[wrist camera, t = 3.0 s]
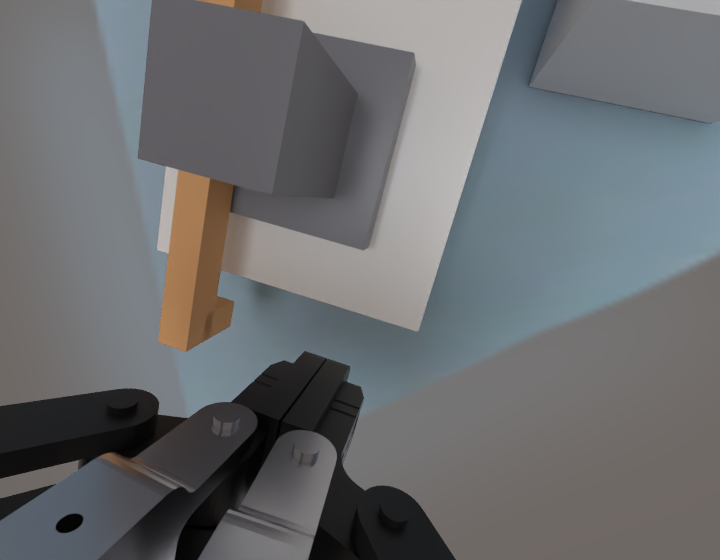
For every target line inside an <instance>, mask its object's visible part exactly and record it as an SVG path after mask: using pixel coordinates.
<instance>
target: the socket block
mask: <svg viewBox="0 0 720 560" xmlns="http://www.w3.org/2000/svg"><path fill="white" fill-rule="evenodd" d="M521 2H522V0H263V2H262V9H261V13H265V14H270V15H275V16H280V17H285V18H290V19H295V20H301V21H304V22H305V23H306V25H307V26H308V27H309V29H310V30H311V31H312V32H313V33H318V34H323V35H328V36H333V37H338V38H343V39H348V40H353V41H358V42H363V43H368V44H373V45H378V46H383V47H388V48H393V49H398V50H403V51H408V52H413V53H414V54H415V60H416V67H415V71H414V75H413V79H412V83H411V86H410V90H409V94H408V98H407V102H406V106H405V110H404V113H403V117H402V121H401V125H400V129H399V133H398V137H397V140H396V144H395V148H394V152H393V156H392V160H391V164H390V167H389V171H388V175H387V179H386V183H385V187H384V191H383V194H382V198H381V202H380V206H379V210H378V214H377V218H376V221H375V225H374V229H373V233H372V237H371V241H370V245H369V248H367V249H365V250H360V249H357V248H353V247H350V246H346V245H343V244H339V243H336V242H332V241H329V240H325V239H322V238H318V237H315V236H311V235H308V234H304V233H301V232H297V231H294V230H290V229H287V228H284V227H280V226H277V225H273V224H270V223H266V222H263V221H259V220H256V219H252V218H249V217H245V216H242V215H238V214H235V213H231V212H230V213H229V220H228V226H227V233H226V239H225V245H224V252H223V258H222V265H221V270H222V271H226V272H229V273H232V274H235V275H238V276H242V277H245V278H248V279H251V280H254V281H257V282H261V283H264V284H267V285H270V286H273V287H277V288H280V289H283V290H286V291H289V292H292V293H296V294H299V295H302V296H305V297H308V298H312V299H315V300H318V301H321V302H324V303H327V304H331V305H334V306H337V307H340V308H343V309H346V310H350V311H353V312H356V313H359V314H362V315H366V316H369V317H372V318H375V319H378V320H381V321H385V322H388V323H391V324H394V325H397V326H401V327H404V328H407V329H410V330H413V331H416V332H418V331H419V328H420V325H421V321H422V318H423V315H424V312H425V309H426V305H427V302H428V299H429V296H430V293H431V289H432V286H433V283H434V280H435V277H436V273H437V270H438V267H439V264H440V261H441V257H442V254H443V251H444V248H445V245H446V242H447V238H448V235H449V232H450V229H451V226H452V222H453V219H454V216H455V213H456V210H457V206H458V203H459V200H460V197H461V194H462V190H463V187H464V184H465V181H466V178H467V174H468V171H469V168H470V165H471V162H472V158H473V155H474V152H475V149H476V146H477V142H478V139H479V136H480V133H481V130H482V126H483V123H484V120H485V117H486V114H487V110H488V107H489V104H490V101H491V98H492V94H493V91H494V88H495V85H496V82H497V78H498V75H499V72H500V69H501V66H502V63H503V59H504V56H505V53H506V50H507V47H508V43H509V40H510V37H511V34H512V31H513V27H514V24H515V21H516V18H517V15H518V11H519V8H520V5H521ZM177 177H178V169H174V168H171V167H167V166H166V171H165V181H164V190H163V199H162V208H161V217H160V227H159V236H158V245H157V250H159V251H162V252H165V253H169V245H170V236H171V228H172V219H173V211H174V202H175V194H176V185H177Z"/></svg>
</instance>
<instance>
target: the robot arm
mask: <svg viewBox="0 0 720 560" xmlns="http://www.w3.org/2000/svg"><path fill="white" fill-rule="evenodd" d="M349 371H350V366H348V365H345V364H342V363H339V362H336V361H333V360H330V359H328V360H327V358H324V357H321V356H318V355H315V354H312V353H309V352H306V351H305V352H303V354H302V355H301V356H300V357H299V358H298V359H297V360H296V361H295V362H294V363H290V362H287V361H281V362H278V363H275V364H273V365H270V366H269V367H268V368H267V369H266V370H265V371H264V372H263V373H262V375H260V376H259V377H257V378H256V379H255V381H254V382H252V383H251V384H250V385H249V386H248V387H247V388H246V389H245V390H244V391H242V392H241V393H240V394H239V395H238V396H237V397H236V398H235V399H234V400H233V401H232V402H220V403H214V404H211V405H208V406H205V407H204V408H202V409H200V410H199V411H198V412H196V413H195V414H193V415H192V416H191V417H189V418H180V417H172V416H165V415H158V409H159V401H158V399H157V398H156V397H155V396H154V395H153V394H151V393H149V392H147V391H144V390H139V389H116V390H109V391H103V392H95V393H89V394H82V395H75V396H68V397H62V398H54V399H47V400H40V401H33V402H26V403H20V404H12V405H6V406H0V478H5V477H9V476H13V475H17V474H21V473H26V472H30V471H34V470H38V469H42V468H47V467H51V466H55V465H59V464H63V463H68V462H72V461H76V460H79V463H78V470H77V471H76V472H74V473H73V474H71V475H70V476H68V477H67V478H65V479H63V480H62V481H61V482H59V483H57V484H54V485H50V486H47V487H43V488H39V489H36V490H31V491H28V492H24V493H20V494H16V495H12V496H9V497H5V498H0V560H456V559H455V558H454V556H453V555H452V553H451V552H450V550H449V549H448V547H447V546H446V544H445V543H444V541H443V540H442V538H441V537H440V535H439V534H438V532H437V531H436V529H435V528H434V526H433V525H432V523H431V522H430V520H429V518H428V517H427V516H426V514H425V512H424V511H423V509H422V508H421V507H420V506H419V504H418V503H417V502H416V501H415V500H414V499H413V498H412V497H411V496H409V495H408V494H406V493H405V492H403V491H401V490H399V489H397V488H393V487H390V486H375V487H372V488H369V489H367V490H366V491H365V490H363V489H362V488H360V487H359V486H358V485H357V484H355V483H354V482H353V481H352V480H351V479H350V478H349V476H348V475H347V474H346V472H345V470H344V468H343V465H342V464H343V462H344V459H345V457H346V454H347V451H348V448H349V446H350V443H351V440H352V437H353V434H354V430H355V427H356V423H357V420H358V416H359V413H360V409H361V406H362V402H363V399H364V397H363V393H362V390H361V387H359V386H356V385H354V384H351V383H348V382H347V379H348V375H349Z"/></svg>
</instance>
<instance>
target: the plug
mask: <svg viewBox="0 0 720 560" xmlns="http://www.w3.org/2000/svg"><path fill="white" fill-rule="evenodd" d="M415 67H416V60H415V54H414V53H413V52H408V51H403V50H398V49H393V48H388V47H383V46H378V45H373V44H368V43H363V42H358V41H353V40H348V39H343V38H338V37H333V36H328V35H323V34H318V33H313V32H312V31H311V30H310V29H309V27H308V26H307V25H306V23H305V22H304V21H301V20H295V19H290V18H285V17H280V16H275V15H270V14H265V13H259V12H254V11H249V10H244V9H239V8H234V7H229V6H223V5H218V4H213V3H208V2H203V1H198V0H152V6H151V17H150V29H149V40H148V51H147V62H146V73H145V84H144V95H143V106H142V117H141V129H140V140H139V151H138V159H141V160H145V161H149V162H152V163H156V164H160V165H163V166H167V167H171V168H174V169H178V170H181V171H185V172H189V173H192V174H196V175H200V176H203V177H207V178H211V179H214V180H218V181H222V182H225V183H229V184H233V185H234V188H233V194H232V201H231V207H230V212H231V213H235V214H238V215H242V216H245V217H249V218H252V219H256V220H259V221H263V222H266V223H270V224H273V225H277V226H280V227H284V228H287V229H290V230H294V231H297V232H301V233H304V234H308V235H311V236H315V237H318V238H322V239H325V240H329V241H332V242H336V243H339V244H343V245H346V246H350V247H353V248H357V249H360V250H365V249H367V248H369V245H370V241H371V237H372V233H373V229H374V225H375V221H376V218H377V214H378V210H379V206H380V202H381V198H382V194H383V191H384V187H385V183H386V179H387V175H388V171H389V167H390V164H391V160H392V156H393V152H394V148H395V144H396V140H397V137H398V133H399V129H400V125H401V121H402V117H403V113H404V110H405V106H406V102H407V98H408V94H409V90H410V86H411V83H412V79H413V75H414V71H415Z"/></svg>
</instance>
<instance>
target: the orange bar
mask: <svg viewBox="0 0 720 560" xmlns="http://www.w3.org/2000/svg"><path fill="white" fill-rule="evenodd" d="M198 1H203V2H208V3H213V4H218V5H223V6H229V7H234V8H239V9H244V10H249V11H254V12H259V13H261V9H262V2H263V0H198ZM233 188H234V185H233V184H229V183H225V182H222V181H218V180H214V179H211V178H207V177H203V176H200V175H196V174H192V173H189V172H185V171H181V170H178V177H177V185H176V194H175V202H174V211H173V219H172V228H171V236H170V245H169V253H168V262H167V270H166V279H165V287H164V296H163V305H162V314H161V322H160V330H159V339H158V342H160V343H163V344H165V345H169V346H171V347H174V348H177V349H179V350H182V351H185V352H186V351H188V350H190V349H192V348H193V347H195V346H197V345H198V344H200V343H202V342H204V341H205V340H207V339H209V338H210V337H212V336H214V335H216V334H217V333H219V332H221V331H222V330H224V329H226V328H228V327H229V326H230V323H231V318H232V312H233V306H234V301H231V300H228V299H225V298H222V297H219V296H217V290H218V284H219V277H220V271H221V265H222V258H223V252H224V245H225V239H226V233H227V226H228V220H229V213H230V207H231V201H232V194H233Z"/></svg>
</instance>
